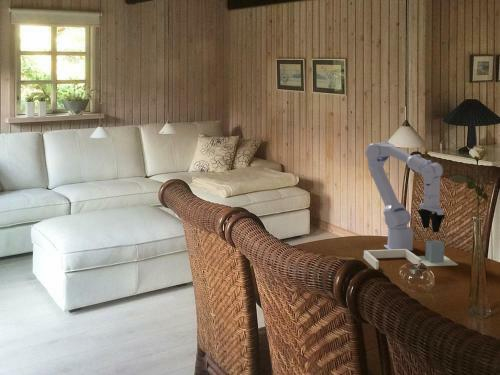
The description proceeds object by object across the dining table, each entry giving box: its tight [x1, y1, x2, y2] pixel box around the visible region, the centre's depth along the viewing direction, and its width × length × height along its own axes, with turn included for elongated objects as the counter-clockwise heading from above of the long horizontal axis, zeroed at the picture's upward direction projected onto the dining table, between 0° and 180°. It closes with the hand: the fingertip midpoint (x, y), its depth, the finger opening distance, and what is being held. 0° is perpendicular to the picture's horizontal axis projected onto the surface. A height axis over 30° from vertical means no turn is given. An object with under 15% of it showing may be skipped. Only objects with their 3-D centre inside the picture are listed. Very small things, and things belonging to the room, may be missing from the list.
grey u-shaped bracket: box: [363, 249, 422, 270], centre depth 226 cm, size 17×14×3 cm
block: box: [424, 240, 445, 263], centre depth 227 cm, size 5×5×7 cm
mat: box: [416, 255, 459, 268], centre depth 228 cm, size 12×12×1 cm
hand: (430, 229), depth 232 cm, fingers open, 7 cm apart
